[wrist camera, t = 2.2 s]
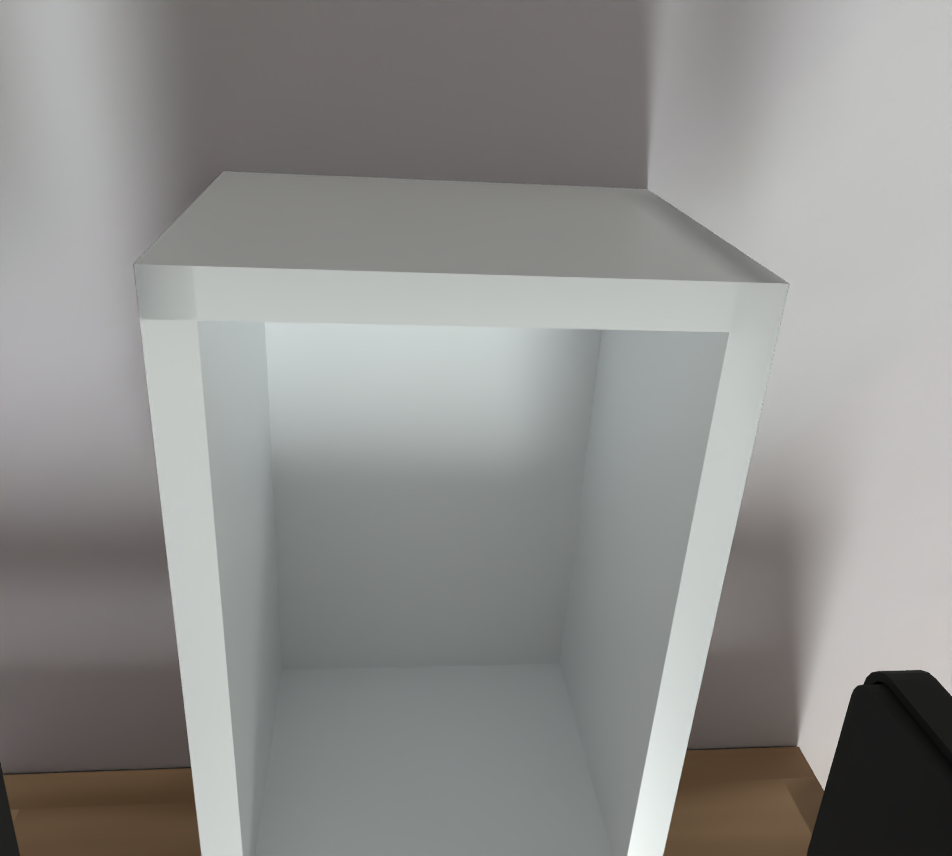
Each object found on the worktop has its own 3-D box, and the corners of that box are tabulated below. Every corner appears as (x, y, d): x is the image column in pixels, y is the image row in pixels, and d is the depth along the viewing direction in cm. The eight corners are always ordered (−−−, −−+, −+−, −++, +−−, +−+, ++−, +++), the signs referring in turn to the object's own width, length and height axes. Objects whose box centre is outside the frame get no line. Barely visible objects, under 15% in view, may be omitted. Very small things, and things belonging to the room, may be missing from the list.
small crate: (224, 169, 12) (133, 264, 7) (644, 186, 13) (789, 283, 8) (258, 673, 16) (210, 933, 11) (577, 665, 17) (651, 908, 12)
